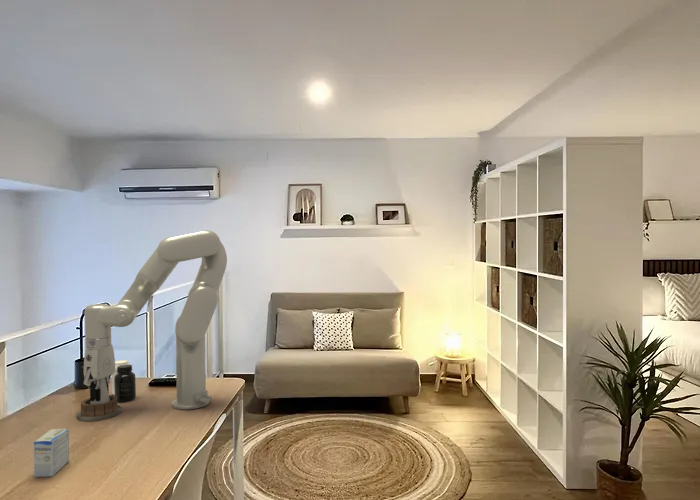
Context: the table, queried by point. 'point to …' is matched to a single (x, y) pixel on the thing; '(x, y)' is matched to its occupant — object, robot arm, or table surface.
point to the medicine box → (51, 452)
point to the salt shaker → (102, 392)
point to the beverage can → (117, 363)
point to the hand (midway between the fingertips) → (99, 398)
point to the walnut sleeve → (99, 410)
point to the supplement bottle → (125, 384)
